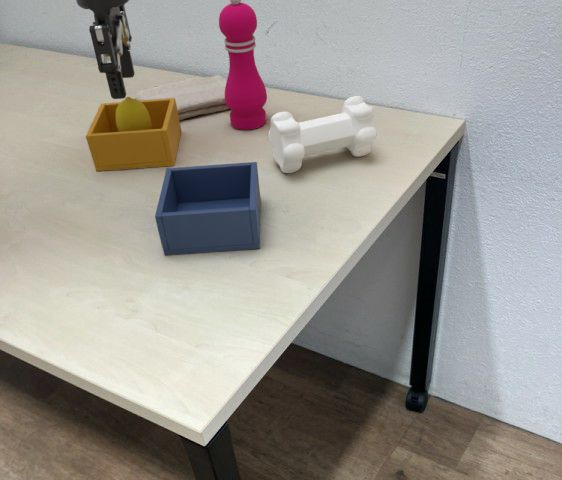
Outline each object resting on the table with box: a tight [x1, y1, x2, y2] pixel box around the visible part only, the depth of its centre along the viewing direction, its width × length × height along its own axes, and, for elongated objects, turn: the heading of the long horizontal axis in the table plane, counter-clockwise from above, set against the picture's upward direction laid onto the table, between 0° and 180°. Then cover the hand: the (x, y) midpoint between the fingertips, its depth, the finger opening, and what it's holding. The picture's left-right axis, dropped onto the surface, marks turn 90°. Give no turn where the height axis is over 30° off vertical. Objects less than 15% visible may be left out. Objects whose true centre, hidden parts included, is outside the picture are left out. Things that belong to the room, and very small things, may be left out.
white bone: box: [268, 95, 378, 174], centre depth 92 cm, size 15×9×8 cm, turn 109°
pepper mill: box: [218, 0, 268, 131], centre depth 100 cm, size 7×7×20 cm
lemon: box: [116, 96, 152, 132], centre depth 98 cm, size 6×6×8 cm
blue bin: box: [154, 161, 262, 256], centre depth 82 cm, size 13×13×6 cm
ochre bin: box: [85, 98, 182, 172], centre depth 100 cm, size 13×13×6 cm
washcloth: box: [135, 74, 230, 121], centre depth 112 cm, size 12×18×3 cm, turn 113°
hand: (123, 87), depth 95 cm, fingers open, 8 cm apart
